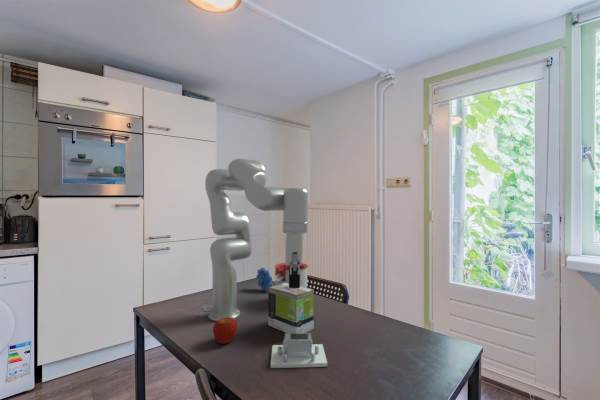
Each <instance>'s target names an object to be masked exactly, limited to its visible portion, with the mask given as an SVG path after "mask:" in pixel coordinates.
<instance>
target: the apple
mask: <svg viewBox="0 0 600 400" xmlns="http://www.w3.org/2000/svg"><path fill="white" fill-rule="evenodd" d="M238 325H239V324H238V323H237V320H236V319H233V318H229V317H225V318H221V319H219V320H218V321H215V323H214V324H213V328H212V332H213V335H214V338H215V339H214V340H215V341H216V343H219V344H223V345H224V344H228V343H230V342H232V340H234V338H235V337H236V334H237V333H238V329H239V326H238Z"/></svg>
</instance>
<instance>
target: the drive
mask: <svg viewBox="0 0 600 400" xmlns="http://www.w3.org/2000/svg"><path fill="white" fill-rule="evenodd" d="M283 340H284V353H286V354H287V358H311V353H312V344H313V338H312V333H311V332H306V333H286V332H284V338H283Z"/></svg>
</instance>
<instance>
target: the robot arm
mask: <svg viewBox="0 0 600 400" xmlns="http://www.w3.org/2000/svg"><path fill="white" fill-rule="evenodd" d="M227 166H228V167H227V169H225V168H224V169H223V168H215V169H212V170H210V171H208V173H206V177H205V182H204V186H205V191H206V195H207V197H208V200H209V208H210V219H211V228H212V231H213V233H214V234H215V235H217V236H231V235H234V236H235V237H225V238H224V237H223V238H219V239H216V240H214V241H213V242H212V243H211V244H210V247H209V254H210V260H211V267H212V299H211V301H212V304H210V305H202V307H201V311H203V313H207V312H208V319H209V320H210V321H213V322H216V321H218V320H219V319H221V318H225V317H229V318H233V319H235V320H236V319H238V318H239V317H240V316H241V310H240V309H238V308H237V269H236V268H235V266H234V265H233V263H232V262H233V261H234V262H235V261H239V260H240V261H241V260H245V259H248V258H249V257H250V256H251V254H252V251H253V242H252V233H251V232H252V231H251V223H250V220H249V216H248V215H247V214H246V213H245V212H241V211H233V210H232V203H231V202H232V201H231V199H230V197H229V196H228V195H227V193H226V192H225V191H240V192H241V191H244V194H245V198H246V200H247V201H248V202H249V204H251V205H253V206H254V207H256V209H259V210H261V211H263V212H264V211H265V212H267V211H269V212H270V211H282V212H283V213H282V233H283V234H285V250H284V252H285V253H284V254H285V259H284V261H285V262H284V263H285V265H286V266H287V265H290V266H289V288H300V274H299V267H300V266H301V264H302V263H303V251H304V250H303V249H304V234H307V233H308V204H309V203H308V201H309V195H308V194H309V193H308V190H307V189H306V188H302V187H276V186H274V187H273V186H265V185H266V182H267V176H266V168H265V166H264V164H263V163H262V162H261V161H259V160H254V159H246V158H237V159H233V160H232V161H230V162H229V164H228V165H227Z"/></svg>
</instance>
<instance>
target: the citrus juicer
mask: <svg viewBox="0 0 600 400" xmlns="http://www.w3.org/2000/svg"><path fill="white" fill-rule="evenodd" d="M289 266H290V265H287V266H286V265H285V262H281V263H277V264H275V265H274V275H275V276H274V278H273V279H274V286H275V285H279V284H283V283H289ZM308 267H309V266H308V264H306V263H304V262H302V264H301V266H300V267H299V274H300V286H302V287H306V288H308Z"/></svg>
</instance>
